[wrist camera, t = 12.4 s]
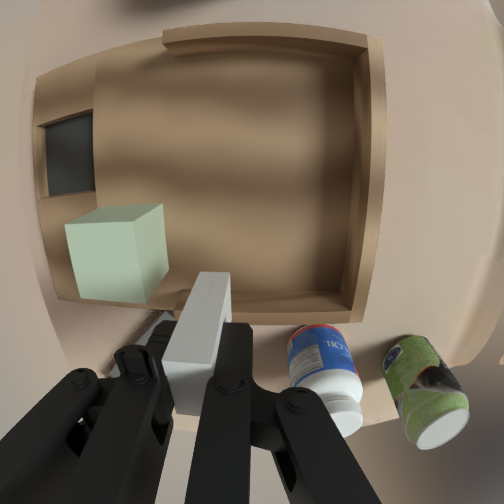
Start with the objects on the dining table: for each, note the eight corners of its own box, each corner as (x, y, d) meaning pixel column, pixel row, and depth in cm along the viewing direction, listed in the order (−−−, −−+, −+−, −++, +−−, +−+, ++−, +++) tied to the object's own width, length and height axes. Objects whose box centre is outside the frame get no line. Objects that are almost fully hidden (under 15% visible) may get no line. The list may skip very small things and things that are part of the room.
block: (102, 206, 18) (64, 224, 14) (162, 203, 18) (133, 221, 14) (112, 267, 20) (80, 298, 15) (169, 269, 20) (146, 304, 15)
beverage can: (398, 378, 26) (435, 457, 15) (360, 360, 25) (397, 456, 14) (436, 340, 24) (488, 414, 13) (402, 315, 23) (463, 405, 12)
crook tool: (109, 369, 27) (103, 379, 25) (171, 300, 23) (165, 311, 21) (143, 393, 28) (139, 404, 26) (215, 333, 24) (212, 346, 22)
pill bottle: (353, 341, 24) (385, 421, 15) (309, 371, 26) (324, 453, 16) (320, 309, 23) (349, 395, 14) (273, 344, 24) (279, 433, 15)
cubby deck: (46, 79, 15) (14, 74, 11) (357, 46, 15) (379, 26, 11) (66, 292, 23) (41, 315, 19) (343, 302, 22) (359, 333, 18)
